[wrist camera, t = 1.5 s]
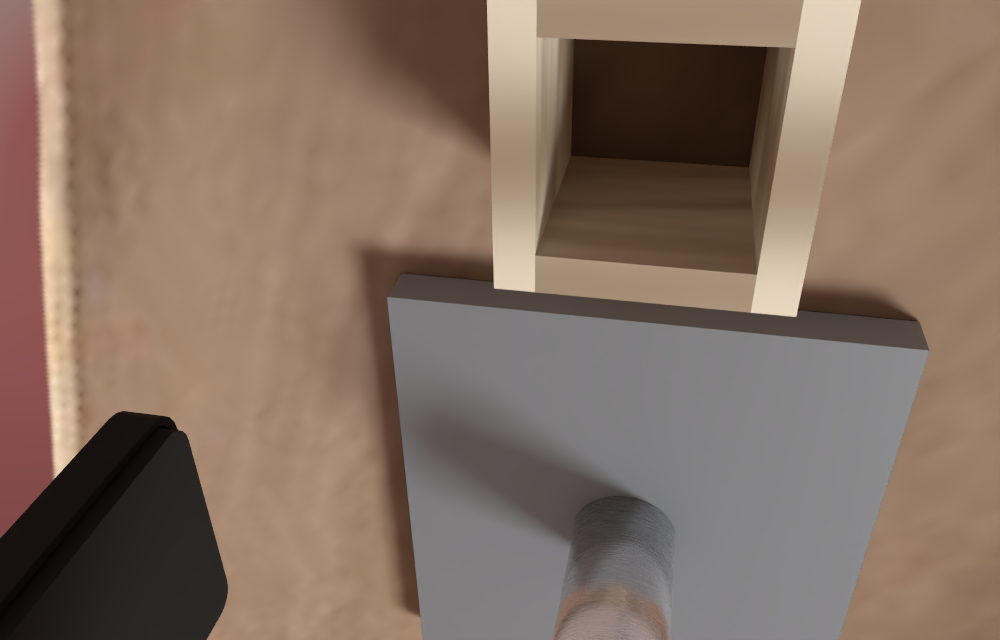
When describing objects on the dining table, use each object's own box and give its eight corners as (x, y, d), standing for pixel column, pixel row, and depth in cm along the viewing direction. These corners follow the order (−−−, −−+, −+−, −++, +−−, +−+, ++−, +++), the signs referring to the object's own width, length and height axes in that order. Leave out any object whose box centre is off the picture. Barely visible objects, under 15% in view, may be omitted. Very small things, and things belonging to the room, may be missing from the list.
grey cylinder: (575, 489, 30) (542, 663, 24) (680, 503, 29) (671, 686, 24) (572, 559, 32) (540, 736, 26) (670, 574, 31) (660, 758, 26)
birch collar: (538, -70, 22) (486, -17, 17) (827, -65, 21) (862, -6, 16) (536, 184, 26) (494, 288, 21) (780, 202, 24) (796, 316, 20)
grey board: (400, 273, 28) (387, 296, 27) (919, 321, 26) (929, 350, 24) (433, 623, 38) (424, 652, 37) (809, 686, 35) (812, 720, 34)
